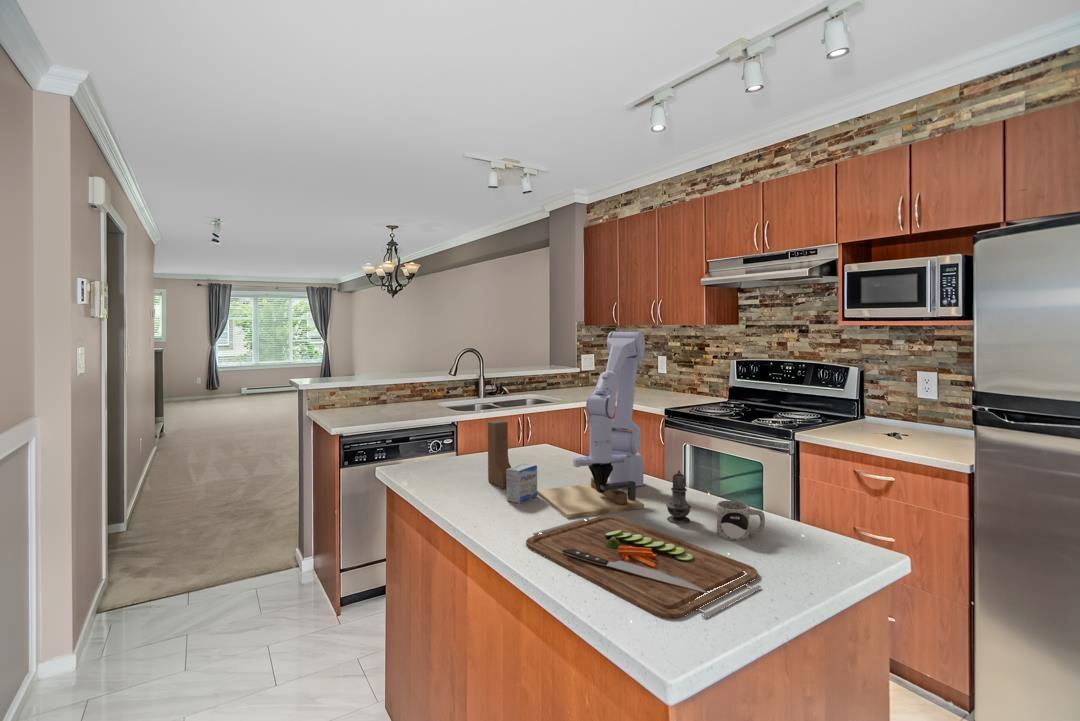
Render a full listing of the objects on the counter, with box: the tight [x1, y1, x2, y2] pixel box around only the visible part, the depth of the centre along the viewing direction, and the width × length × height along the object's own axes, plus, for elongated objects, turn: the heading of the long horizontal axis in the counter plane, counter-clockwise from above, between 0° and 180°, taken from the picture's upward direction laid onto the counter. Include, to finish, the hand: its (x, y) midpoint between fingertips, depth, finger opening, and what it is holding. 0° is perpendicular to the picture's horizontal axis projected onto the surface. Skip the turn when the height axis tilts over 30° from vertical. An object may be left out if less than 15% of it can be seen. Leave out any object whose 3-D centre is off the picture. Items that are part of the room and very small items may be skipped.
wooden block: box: [487, 419, 512, 489], centre depth 162 cm, size 9×4×18 cm, turn 34°
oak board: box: [537, 483, 645, 520], centre depth 147 cm, size 21×21×1 cm
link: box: [590, 476, 628, 505], centre depth 149 cm, size 18×4×3 cm, turn 17°
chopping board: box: [525, 515, 762, 620], centre depth 111 cm, size 45×27×3 cm, turn 38°
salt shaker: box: [665, 469, 693, 525], centre depth 132 cm, size 6×6×12 cm
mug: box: [716, 500, 766, 542], centre depth 122 cm, size 10×7×7 cm
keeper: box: [600, 481, 637, 500], centre depth 143 cm, size 9×2×6 cm, turn 111°
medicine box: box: [506, 462, 538, 504], centre depth 149 cm, size 8×4×9 cm, turn 143°
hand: (600, 491), depth 147 cm, fingers closed
